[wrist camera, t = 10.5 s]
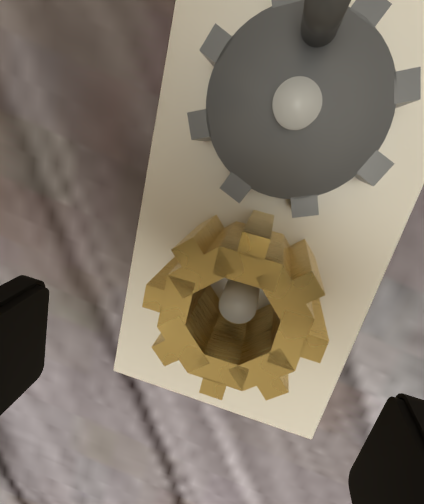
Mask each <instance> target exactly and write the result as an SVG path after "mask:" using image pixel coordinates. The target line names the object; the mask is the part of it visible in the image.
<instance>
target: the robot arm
mask: <svg viewBox="0 0 424 504" xmlns="http://www.w3.org/2000/svg"><path fill="white" fill-rule="evenodd" d="M48 302H49V290H48V289H47V288H45V284H44V282H43V281H40V280H37V279H34V278H31V277H28V276H24V275H21V276H18V277H16V278H14V279H12V280H10V281H9V282H7V283H5V284H3V285H1V286H0V415H1V414H2V413H3V412H4V411H5V410H6V409H7V408H8V407H10V406H11V405H12V404H13V403H14V402H15V401H16V400H17V399H18V398H19V397H20V396H21V395H22V394H23V393H24V392H25V391H26V390H27V389H28V388H29V387H30V386H31V385H32V384H33V383H34V382H35V381H36V380H37V379H38V378H39V376H40V375H41V373H42V371H43V368H44V358H45V344H46V330H47V316H48ZM349 490H350V495H351V500H352V504H424V400H422V399H418V398H415V397H412V396H409V395H406V394H402V393H401V394H398V395H397V396H396V397H390V398H389V399H388V400H387V402H386V404H385V405H384V407H383V409H382V411H381V413H380V415H379V417H378V419H377V421H376V423H375V424H374V426H373V428H372V430H371V432H370V434H369V436H368V438H367V440H366V442H365V443H364V445H363V447H362V449H361V451H360V453H359V455H358V457H357V459H356V461H355V463H354V464H353V466H352V468H351V470H350V474H349Z"/></svg>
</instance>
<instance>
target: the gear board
mask: <svg viewBox="0 0 424 504" xmlns="http://www.w3.org/2000/svg"><path fill="white" fill-rule="evenodd" d="M423 184H424V0H176V2H175V8H174V14H173V20H172V26H171V32H170V38H169V44H168V50H167V56H166V62H165V68H164V74H163V79H162V85H161V91H160V97H159V103H158V109H157V115H156V121H155V127H154V133H153V139H152V145H151V151H150V157H149V163H148V169H147V175H146V181H145V186H144V192H143V198H142V204H141V210H140V216H139V222H138V228H137V234H136V240H135V246H134V252H133V258H132V264H131V270H130V276H129V282H128V288H127V293H126V299H125V305H124V311H123V317H122V323H121V329H120V335H119V341H118V347H117V353H116V359H115V365H114V371H116V372H119V373H122V374H125V375H128V376H130V377H133V378H136V379H139V380H142V381H145V382H148V383H151V384H153V385H156V386H159V387H162V388H165V389H168V390H171V391H174V392H176V393H179V394H182V395H185V396H188V397H191V398H194V399H196V400H199V401H202V402H205V403H208V404H211V405H214V406H217V407H219V408H222V409H225V410H228V411H231V412H234V413H237V414H240V415H242V416H245V417H248V418H251V419H254V420H257V421H260V422H263V423H265V424H268V425H271V426H274V427H277V428H280V429H283V430H285V431H288V432H291V433H294V434H297V435H300V436H303V437H306V438H308V439H311V440H312V437H313V435H314V433H315V431H316V428H317V426H318V424H319V421H320V419H321V417H322V415H323V412H324V410H325V408H326V405H327V403H328V401H329V399H330V396H331V394H332V392H333V390H334V387H335V385H336V383H337V380H338V378H339V376H340V374H341V371H342V369H343V367H344V364H345V362H346V360H347V358H348V355H349V353H350V351H351V349H352V346H353V344H354V342H355V339H356V337H357V335H358V333H359V330H360V328H361V326H362V323H363V321H364V319H365V317H366V314H367V312H368V310H369V308H370V305H371V303H372V301H373V298H374V296H375V294H376V292H377V289H378V287H379V285H380V282H381V280H382V278H383V276H384V273H385V271H386V269H387V267H388V264H389V262H390V260H391V257H392V255H393V253H394V251H395V248H396V246H397V244H398V241H399V239H400V237H401V235H402V232H403V230H404V228H405V226H406V223H407V221H408V219H409V216H410V214H411V212H412V210H413V207H414V205H415V203H416V200H417V198H418V196H419V194H420V191H421V189H422V187H423ZM253 210H257V211H260V212H264V213H268V214H271V215H274V221H273V227H272V231H274V232H277V233H281V234H284V236H285V238H286V239H287V241H288V243H289V245H290V246H291V245H293V244H295V243H297V242H299V241H301V240H303V239H305V240H306V242H307V244H308V245H309V247H310V249H311V251H312V252H313V254H314V256H315V259H316V262H317V266H318V270H319V273H320V277H321V280H322V284H323V287H324V291H325V296H323V297H320V298H319V299H320V303H321V307H322V312H323V316H324V320H325V325H326V329H327V333H328V338H329V343H328V345H327V348H326V350H325V353H324V355H323V358H322V360H321V363H317V362H314V361H311V360H308V359H305V358H302V357H300V359H299V362H298V364H297V367H296V370H295V371H294V372H292V373H289V374H288V380H289V393H286V394H283V395H280V396H278V397H275V398H272V399H269V400H265V398H264V397H263V395H262V394H261V392H260V390H259V389H258V387H257V386H255V387H252V388H250V389H247V390H244V391H240V390H237V389H234V388H231V387H228V386H226V389H225V392H224V396H223V399H222V400H219V399H216V398H213V397H210V396H208V395H205V394H202V393H199V390H200V387H201V383H202V379H203V378H201V377H198V376H195V375H192V374H189V373H187V371H186V370H185V368H184V367H183V365H182V364H181V362H180V361H179V360H178V361H176V362H173V363H171V364H169V365H167V366H164V365H163V364H162V362H161V361H160V359H159V358H158V356H157V355H156V353H155V352H154V350H153V349H152V345H153V344H154V342H155V341H156V339H157V338H158V336H159V335H160V333H161V332H160V331H159V329H158V328H157V324H158V319H159V314H160V313H159V312H156V311H153V310H150V309H147V308H144V307H142V304H143V299H144V293H145V288H146V284H147V283H148V282H149V281H150V280H151V279H152V278H153V277H154V276H155V275H156V274H157V273H158V272H159V271H160V270H161V269H162V268H163V267H164V266H165V265H166V264H167V263H168V262H169V261H171V260H172V259H173V258H174V257H175V256H174V254H173V253H172V251H171V249H172V248H173V247H175V246H176V245H177V244H178V243H179V242H180V241H181V240H182V239H184V238H185V237H186V236H187V235H188V234H189V233H190V232H191V231H192V230H194V229H195V228H196V227H197V226H198V225H199V224H201V223H203V222H204V221H206V220H208V219H209V218H211V217H213V216H215V215H216V214H217V216H218V218H219V219H220V221H221V223H222V225H223V226H224V228H225V227H226V226H228V225H230V224H232V223H234V222H235V221H237V222H241V223H245V224H247V222H248V220H249V218H250V216H251V214H252V212H253ZM211 287H212V288H213V290H214V292H215V293H216V295H217V297H218V298H219V310H220V313H221V314H222V316H223V317H224V318H225V319H226V320H228V321H230V322H232V323H236V324H242V323H246V322H248V321H250V320H251V319H252V318H253V317H254V315H255V313H256V310H258V309H260V308H262V307H264V306H267V305H269V304H271V303H270V302H269V300H268V298H267V297H266V295H265V293H264V292H263V290H262V289H261V288H257V287H254V286H251V285H247V284H244V283H240V282H237V281H234V280H230V279H227V278H223V279H221V280H219V281H217V282H215V283H213V284H211Z"/></svg>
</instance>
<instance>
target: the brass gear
mask: <svg viewBox="0 0 424 504" xmlns="http://www.w3.org/2000/svg"><path fill="white" fill-rule="evenodd" d="M273 221H274V215H271V214H268V213H264V212H260V211H257V210H253V212H252V214H251V216H250V218H249V220H248V222H247V224H245V223H241V222H237V221H235V222H234V223H232V224H230V225H228V226H226V227H225V228H224V226H223V225H222V223H221V221H220V219H219V218H218V216H217V214H216V215H215V216H213V217H211V218H209V219H208V220H206V221H204V222H203V223H201V224H199V225H198V226H197V227H196V228H195V229H194V230H192V231H191V232H190V233H189V234H188V235H187V236H186V237H185V238H184V239H182V240H181V241H180V242H179V243H178V244H177V245H176V246H175V247H173V248H172V249H171V251H172V253H173V254H174V256H175V257H174V258H173V259H172V260H171V261H169V262H168V263H167V264H166V265H165V266H164V267H163V268H162V269H161V270H160V271H159V272H158V273H157V274H156V275H155V276H154V277H153V278H152V279H151V280H150V281H149V282H148V283H147V284H146V288H145V293H144V299H143V304H142V307H144V308H147V309H150V310H153V311H156V312H159V313H160V314H159V319H158V324H157V328H158V329H159V331H160V332H161V333H160V335H159V336H158V338H157V339H156V341H155V342H154V344H153V345H152V349H153V350H154V352H155V353H156V355H157V356H158V358H159V359H160V361H161V362H162V364H163V365H164V366H167V365H169V364H171V363H173V362H176V361H178V360H179V361H180V362H181V364H182V365H183V367H184V368H185V370H186V371H187V373H189V374H192V375H195V376H198V377H201V378H203V379H202V383H201V387H200V390H199V393H202V394H205V395H208V396H210V397H213V398H216V399H219V400H222V399H223V396H224V392H225V389H226V386H228V387H231V388H234V389H237V390H240V391H244V390H247V389H250V388H252V387H255V386H257V387H258V389H259V390H260V392H261V394H262V395H263V397H264V398H265V400H269V399H272V398H275V397H278V396H280V395H283V394H286V393H289V380H288V374H289V373H292V372H294V371H295V370H296V367H297V364H298V362H299V359H300V357H302V358H305V359H308V360H311V361H314V362H317V363H321V360H322V358H323V355H324V353H325V350H326V348H327V345H328V343H329V338H328V333H327V329H326V325H325V320H324V316H323V312H322V307H321V303H320V299H319V298H320V297H323V296H325V291H324V287H323V284H322V280H321V277H320V273H319V270H318V266H317V262H316V259H315V256H314V254H313V252H312V251H311V249H310V247H309V245H308V244H307V242H306V240H305V239H303V240H301V241H299V242H297V243H295V244H293V245H291V246H290V245H289V243H288V241H287V239H286V238H285V236H284V234H281V233H277V232H274V231H272V227H273ZM223 278H227V279H230V280H234V281H237V282H240V283H244V284H247V285H251V286H254V287H257V288H261V289H262V290H263V292H264V293H265V295H266V297H267V298H268V300H269V302H270V303H271V304H269V305H267V306H264V307H262V308H260V309H258V310H256V313H255V315H254V317H253V318H252V319H251V320H250V321H248V322H246V323H242V324H236V323H232V322H230V321H228V320H226V319H225V318H224V317H223V316H222V314H221V313H220V310H219V298H218V297H217V295H216V293H215V292H214V290H213V288H212V287H211V284H213V283H215V282H217V281H219V280H221V279H223Z"/></svg>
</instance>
